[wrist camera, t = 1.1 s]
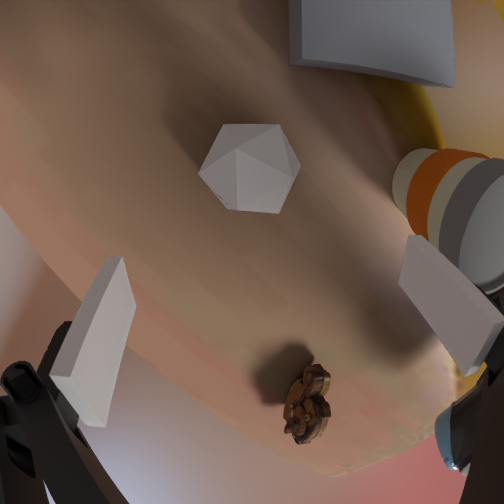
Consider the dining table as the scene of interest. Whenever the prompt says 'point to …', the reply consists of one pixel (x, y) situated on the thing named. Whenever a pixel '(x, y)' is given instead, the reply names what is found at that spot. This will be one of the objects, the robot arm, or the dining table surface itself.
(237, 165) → the die
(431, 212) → the reusable coffee cup
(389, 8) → the slate block
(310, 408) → the wooden carving
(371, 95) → the dining table surface
